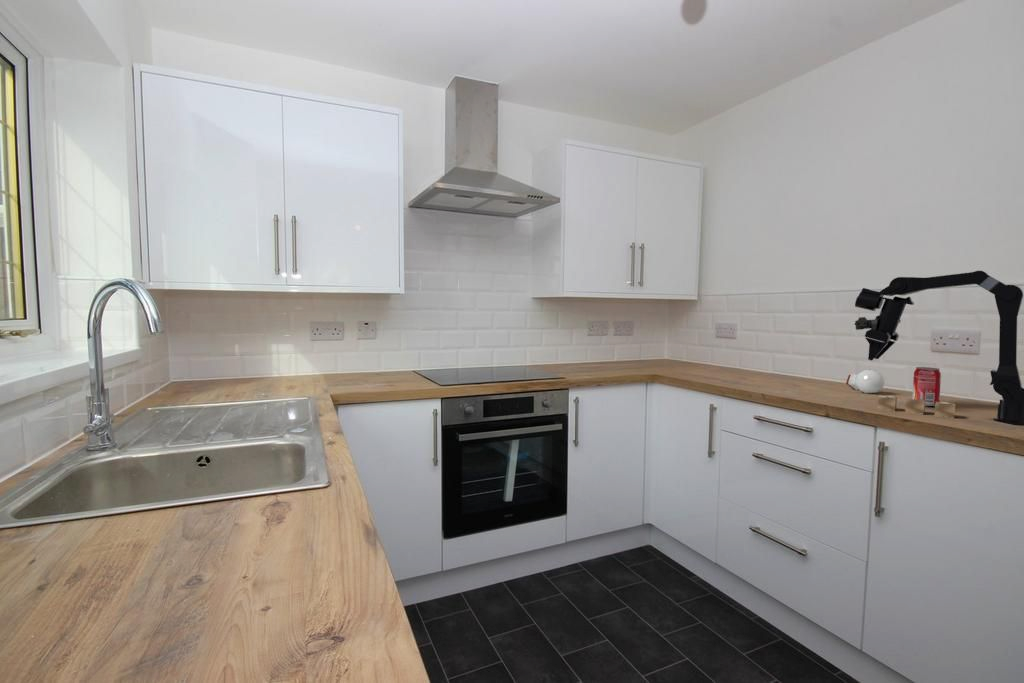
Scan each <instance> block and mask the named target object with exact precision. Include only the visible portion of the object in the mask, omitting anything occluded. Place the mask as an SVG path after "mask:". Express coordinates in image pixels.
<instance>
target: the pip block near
mask: <svg viewBox="0 0 1024 683" xmlns="http://www.w3.org/2000/svg"><path fill="white" fill-rule="evenodd" d="M955 411H956V403H952V402H949V401H939V402H936V403H935V407H934V416H935V415H939V416H947V417H953V418H952V419H955V413H956V412H955Z"/></svg>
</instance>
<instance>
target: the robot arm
mask: <svg viewBox="0 0 1024 683" xmlns="http://www.w3.org/2000/svg"><path fill="white" fill-rule="evenodd" d="M971 285H972V286H973V285H977V286H979V287H981V288H982V289H984V290H986V291H987V292H989V293H991V294H993V295H994V300H995V304H996V308H997V313H998V315H999V339H998V340H999V342H998V343H999V344H998V345H999V346H998V366H997V369H991V370H990V371H989V372H990V376H991V381H990V383H989V385H990V386H992V388H993V390H994V392H995V393H996V394H998V395H1000V396H1001V398H1002V399H999V404H997V415H996V418H992V420H993V421H995V422H996V421H997V422H1003V423H1005V424H1006V423H1007V424H1010V425H1016V426H1017V425H1019V426H1020V425H1022V426H1024V387H1022V386H1023V385H1022V384H1023V383H1022V381H1021V377H1020V371H1019V368H1018V364H1017V362H1018V361H1017V360H1018V358H1017V356H1018V355H1017V354H1018V317H1019V312H1020V310H1021V305H1022V302H1023V299H1024V292H1023V290H1022V288H1021V287H1019V286H1017V285H1014V284H1005V283H1004V282H1001V281H999V280H998V279H996V278H994V277H992V276H991V275H989V274H988V273H987V272H985V271H983V270H975V271H970V272H962V273H954V274H945V275H944V274H943V275H938V276H937V275H936V276H930V277H929V276H928V277H917V276H916V277H914V276H910V277H909V276H908V277H907V276H897V277H895V278H893V279H892V280H891V281H890V282H889V285H888V286H886V287H885V288H883V289H881V290H880V291H878V290H872V289H869V288H865V287H863V288H862V289H861V291H860V292H859V294H858V296H857V297H856V299H855V303H854V307H855V308H858V309H862V310H863V309H864V310H868V311H870V312H871V311H873V312H875V311H876V310H880V313H879V315H876V316H875V318H874V319H867V317H866V316H863V317H858V319H857V320H855V321H854V322H855V323H854V326H855V330H856V331H859V330H860V331H861V330H866V329H868V330H866V332H865V335H864V338H865V340H866V341H867V343H869V345H868V346H869V347H868V358H867V359H868V361H874V359H875V360H879V359H880V358H881V357H882V356H883V355H884V354H885V353H886V352H887V351H888V350H889V349H890V348H891V347H892V346H893V345H894V344H895V343H896V342H897V341H898V340H899V337H900V334H899V333H898V332H896V330H897V327H898V325H899V324H901V321H902V320H901V318H902V316H903V313H904V310H905V307H906V306H907V305H909V306H914V305H915V302H914V301H913V300H912V297H911V296H907V295H911V294H916V293H917V294H918V293H920V292H922V291H923V292H924V291H926V290H936V289H945V288H952V287H964V286H971ZM897 295H898V296H897ZM884 296H888V297H884ZM899 296H901V297H899ZM902 296H907V297H902ZM889 297H893V298H889Z"/></svg>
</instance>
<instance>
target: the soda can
mask: <svg viewBox="0 0 1024 683" xmlns="http://www.w3.org/2000/svg"><path fill="white" fill-rule="evenodd" d="M941 378H942V374H941V371H940V368H938V367H929V366H928V367H927V366H916V367H915V369H914V372H913V383H912V398H911V399H915V400H924V401H925V406H935V403H936V402H940V400H941V399H940V396H941V395H940V394H941V381H942V380H941Z"/></svg>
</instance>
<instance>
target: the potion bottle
mask: <svg viewBox="0 0 1024 683" xmlns="http://www.w3.org/2000/svg"><path fill="white" fill-rule="evenodd" d="M845 384H846V385H847V386H849V387H850V388H851V389H853V390H855V391H858V390H859V391H860V392H862V393H864V394H872V393H874V394H877V393H878V392H881V391H882V389H883V388H884V387H885V377H884V376H883V375H882V374H881V373H880V372H878V371H876V370H875V369H864V370H862V371H861V370H860V371H859V372H858V373H850V374H848V376H847V379H846V381H845Z"/></svg>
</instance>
